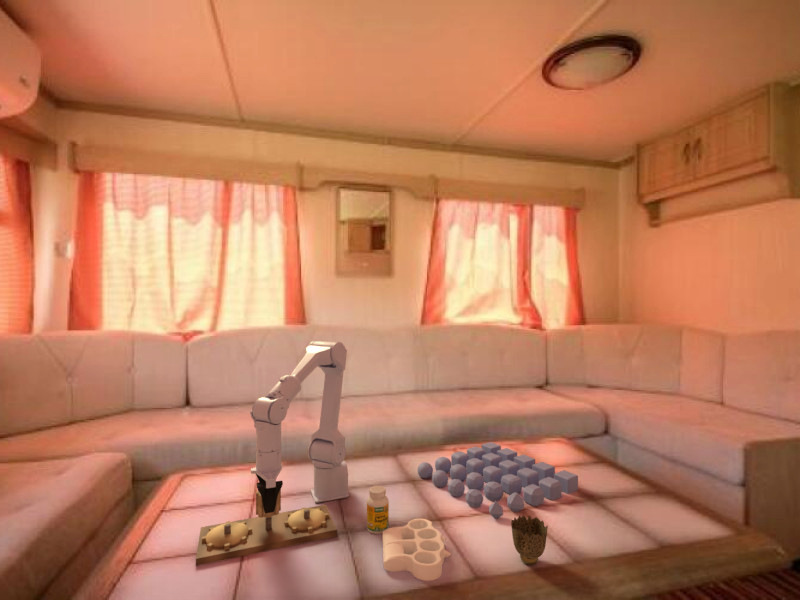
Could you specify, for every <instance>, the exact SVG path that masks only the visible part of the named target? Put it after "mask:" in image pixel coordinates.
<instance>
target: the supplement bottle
mask: <svg viewBox="0 0 800 600" xmlns="http://www.w3.org/2000/svg"><path fill="white" fill-rule="evenodd" d="M386 493H387V491H386V487H384V486H382V485H374V486H371V487H370V488H369V493H368V495H369V496H367V499H366V529H367V531H368V532H369V533H371V534H374V535H379V534H383V531H385V530H386V529H389V526H390V525H389V524H390V522H389V519H390V518H389V517H390V516H389V515H390V514H389V512H390V511H389V507H390V506H389V503H390V501H389V498H388V496H386Z"/></svg>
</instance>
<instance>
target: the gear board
mask: <svg viewBox="0 0 800 600" xmlns="http://www.w3.org/2000/svg"><path fill="white" fill-rule="evenodd" d="M337 536H338V529H337V527H336V525H335V522H334V519H333V517H332V516H331V512H330V511H329V509H328V505H327V504H321V505H316V506H310V507H301V508H299V509H293V510H289V511H284V512H283V511H282V512H279V514H277V515H274V516H271V517H270V518H267V517H262V518H260V517H258V516H256V517H249V518H245V519H239V520H233V521H231V520H229V521H225V522H223V523H218V524H212V525H207V526H201V527H200V531H199V536H198V543H197V548H196V556H195V566H196V567H197V566H202V565H208V564H211V563H216V562H221V561H226V560H230V559H235V558H236V559H237V558H240V557H245V556H251V555H254V554H258V553H259V554H260V553H263V552H264V553H265V552H268V551H273V550H277V549H282V548H287V547H292V546H296V545H302V544H306V543H310V542H315V541H320V540H324V539H330V538H333V537H334V538H335V537H337Z"/></svg>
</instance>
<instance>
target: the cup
mask: <svg viewBox="0 0 800 600" xmlns="http://www.w3.org/2000/svg"><path fill="white" fill-rule="evenodd" d="M510 525H511V532H512V533H511V534H512V535H511V536H512V540H513V546H514V548H515V550H516V552H517V553H518V554H519V557H520V560H521V561H522V563H524V564H526V565H529V566H534V565H537V564H538V562H539V558H540V557H541V556H543V554H544V552H545V549H546V545H547V544H546V543H547V538H548V537H547V536H548V525H546V526H545V522H544V520H540V518H538V517H537V516H536V517H534V518H532V516H531V515H528V516H525V515H519V516H518V517H517V518H516V517H513V519H511V520H510Z"/></svg>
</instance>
